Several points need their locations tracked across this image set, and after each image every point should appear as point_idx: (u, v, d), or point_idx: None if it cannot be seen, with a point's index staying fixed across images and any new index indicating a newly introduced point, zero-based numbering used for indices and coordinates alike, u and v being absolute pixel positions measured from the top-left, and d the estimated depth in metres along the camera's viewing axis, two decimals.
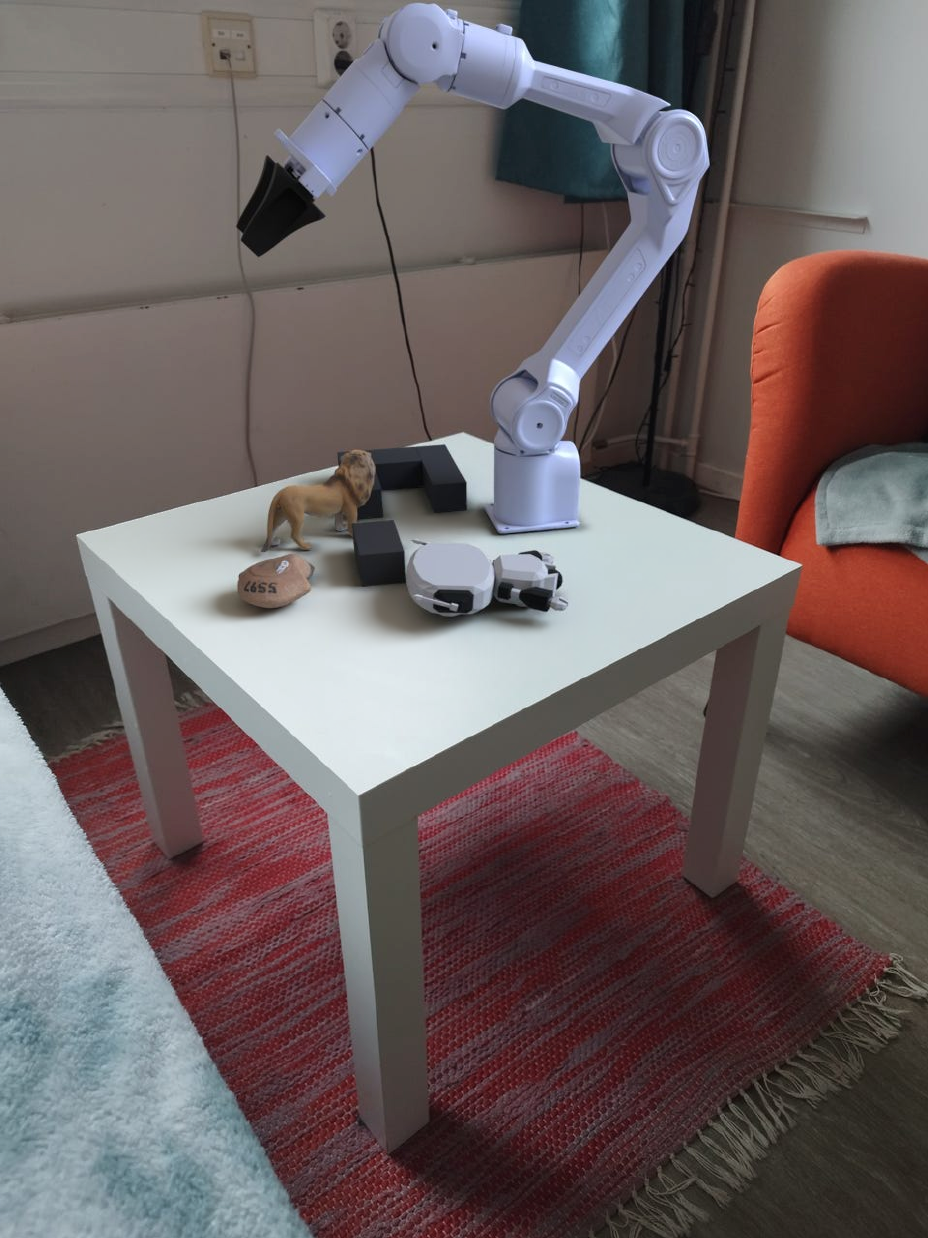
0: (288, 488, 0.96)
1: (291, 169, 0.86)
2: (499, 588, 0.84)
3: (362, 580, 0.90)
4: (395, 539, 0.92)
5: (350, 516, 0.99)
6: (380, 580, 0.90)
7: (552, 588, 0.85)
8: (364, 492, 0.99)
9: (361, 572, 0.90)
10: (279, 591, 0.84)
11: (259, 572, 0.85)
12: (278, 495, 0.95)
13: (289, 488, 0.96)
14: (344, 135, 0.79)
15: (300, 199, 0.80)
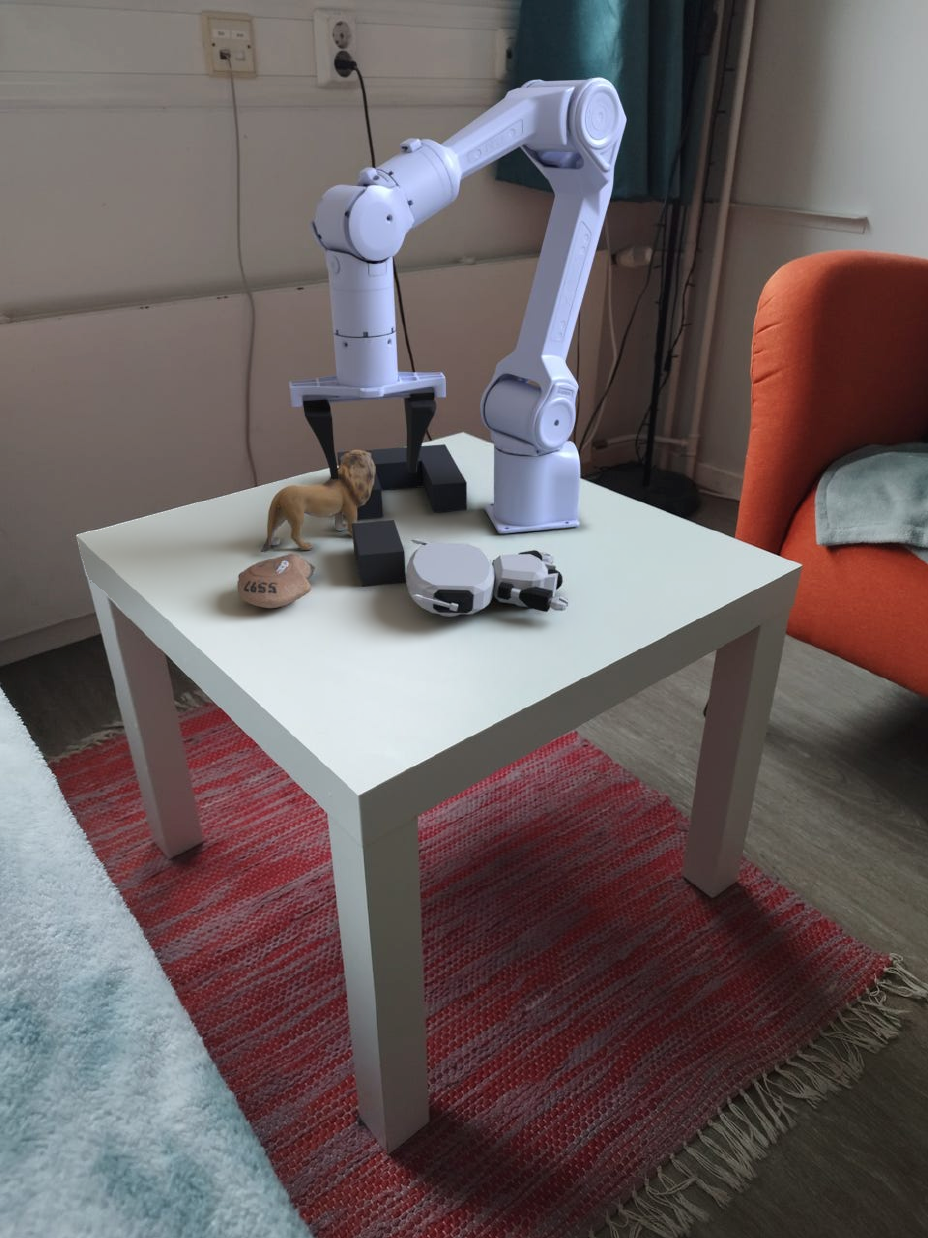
0: (288, 488, 0.96)
1: (327, 401, 0.84)
2: (499, 588, 0.84)
3: (362, 580, 0.90)
4: (395, 539, 0.92)
5: (350, 516, 0.99)
6: (380, 580, 0.90)
7: (552, 588, 0.85)
8: (364, 492, 0.99)
9: (361, 572, 0.90)
10: (279, 591, 0.84)
11: (259, 572, 0.85)
12: (278, 495, 0.95)
13: (289, 488, 0.96)
14: None
15: None
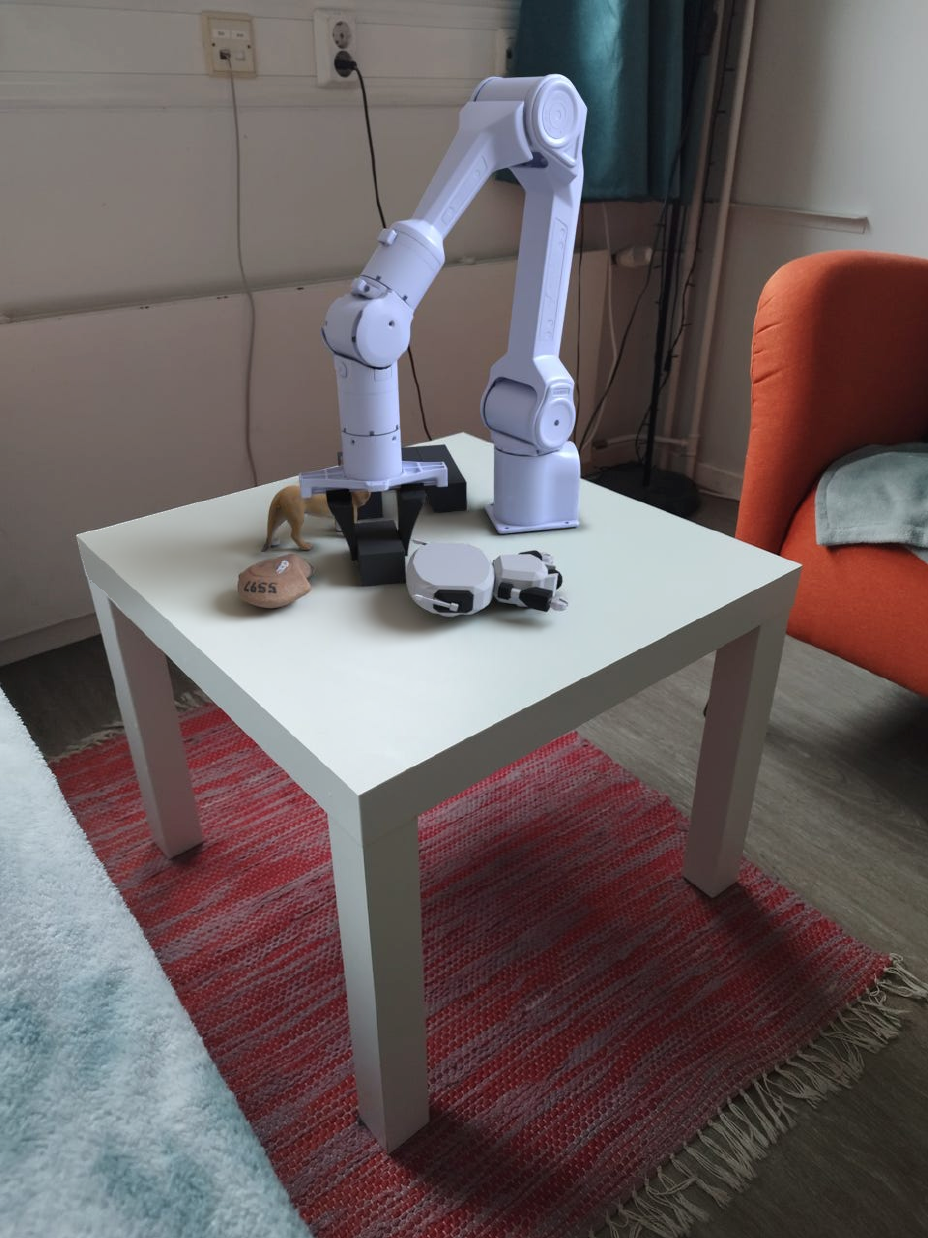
0: (288, 488, 0.96)
1: (349, 490, 0.89)
2: (499, 588, 0.84)
3: (362, 580, 0.90)
4: (396, 539, 0.92)
5: None
6: (380, 580, 0.90)
7: (552, 588, 0.85)
8: (364, 492, 0.99)
9: (361, 572, 0.90)
10: (279, 591, 0.84)
11: (259, 572, 0.85)
12: (278, 495, 0.95)
13: (289, 488, 0.96)
14: None
15: None
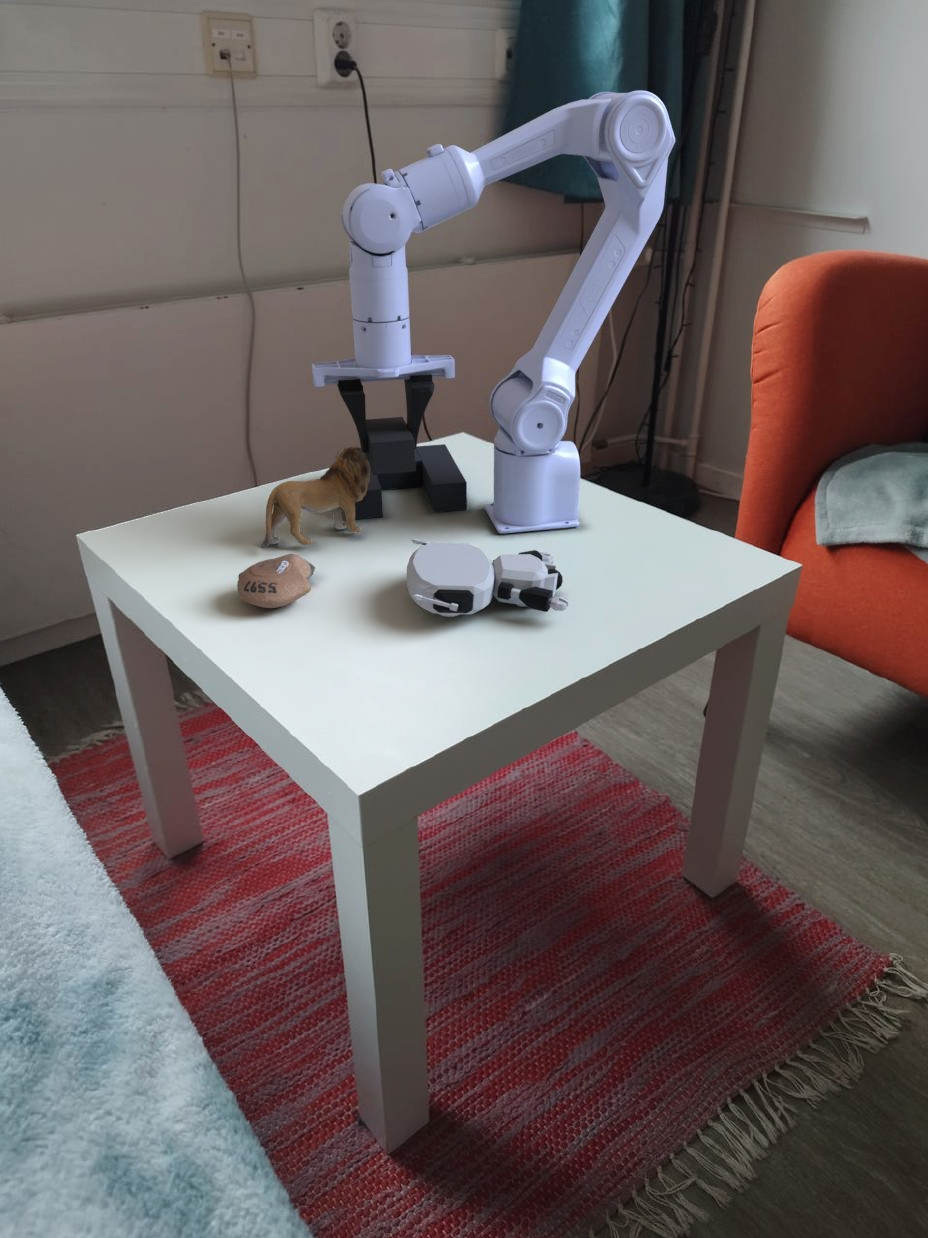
0: (284, 483, 0.96)
1: None
2: (499, 588, 0.84)
3: (373, 468, 0.94)
4: (405, 430, 0.95)
5: (348, 510, 0.99)
6: (391, 469, 0.94)
7: (552, 588, 0.85)
8: (360, 485, 0.99)
9: (372, 460, 0.93)
10: (279, 591, 0.84)
11: (259, 572, 0.85)
12: (275, 490, 0.96)
13: (285, 483, 0.96)
14: None
15: None
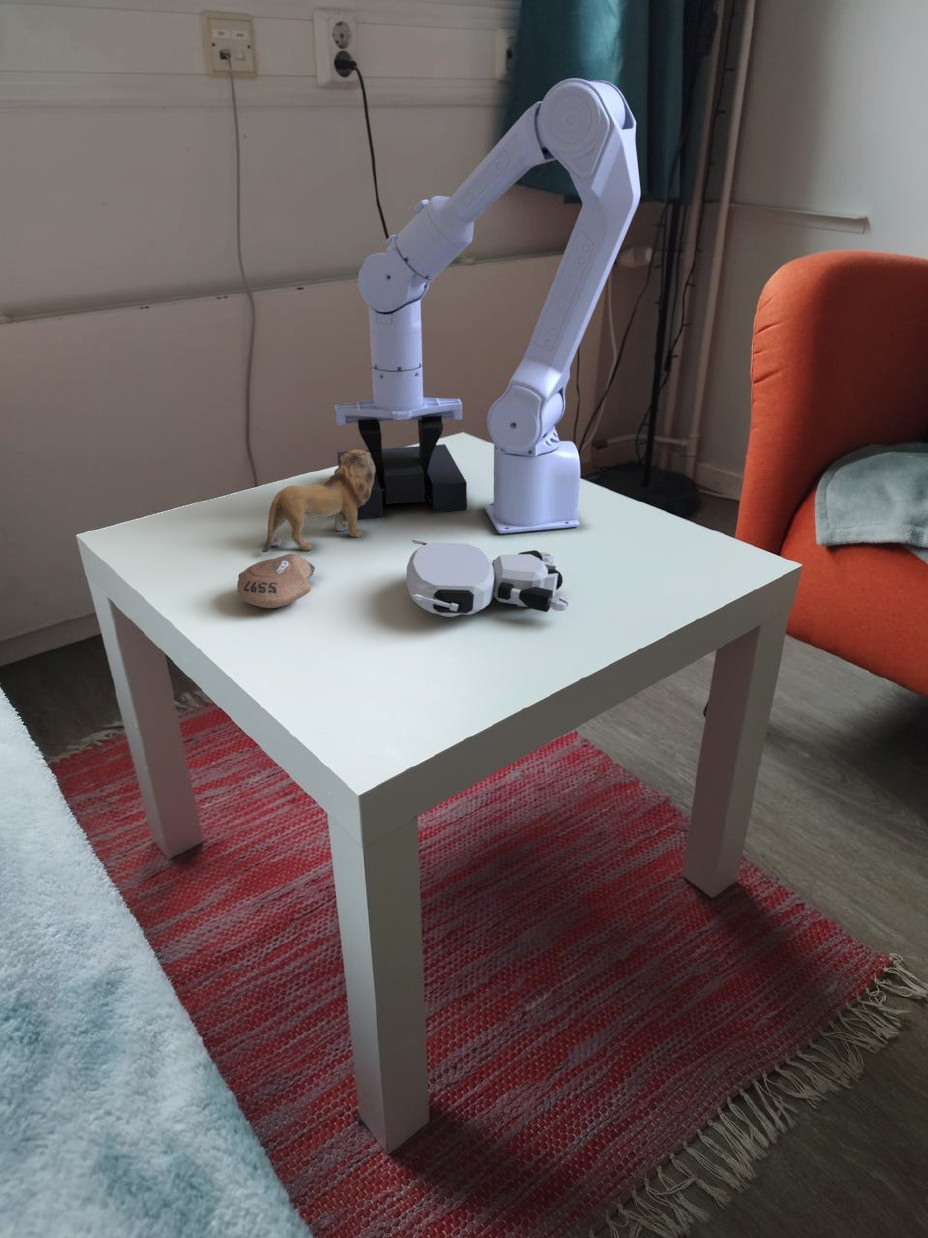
0: (288, 488, 0.96)
1: (377, 420, 1.04)
2: (499, 588, 0.84)
3: (387, 498, 1.05)
4: (417, 464, 1.07)
5: (350, 516, 0.99)
6: (402, 499, 1.05)
7: (552, 588, 0.85)
8: (364, 492, 0.99)
9: (386, 491, 1.05)
10: (279, 591, 0.84)
11: (259, 572, 0.85)
12: (279, 496, 0.95)
13: (289, 488, 0.96)
14: (422, 370, 1.02)
15: None
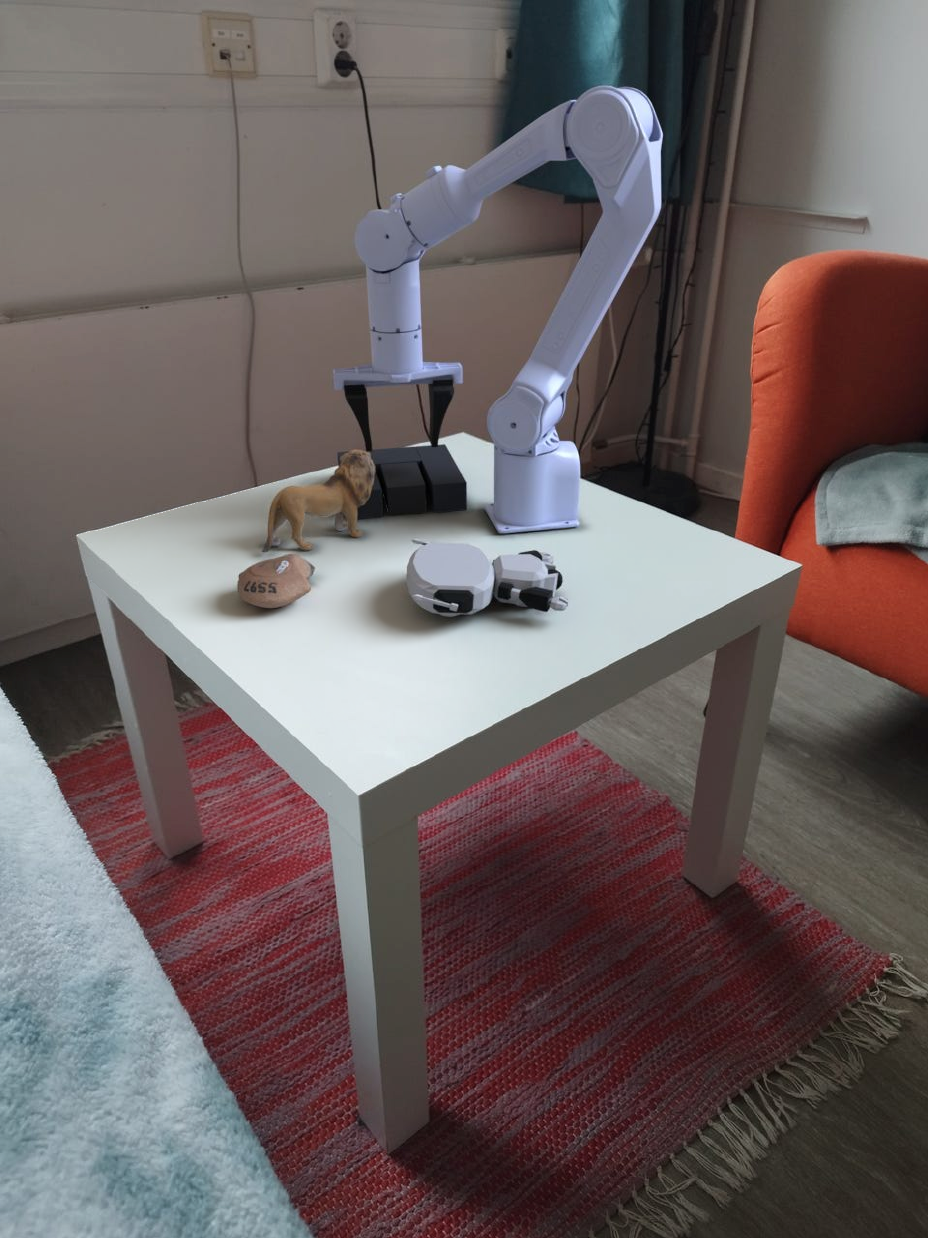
0: (288, 488, 0.96)
1: (364, 385, 1.02)
2: (499, 588, 0.84)
3: (389, 510, 1.06)
4: (418, 476, 1.07)
5: (350, 516, 0.99)
6: (404, 510, 1.06)
7: (552, 588, 0.85)
8: (364, 492, 0.99)
9: (388, 503, 1.05)
10: (279, 591, 0.84)
11: (259, 572, 0.85)
12: (279, 496, 0.95)
13: (289, 488, 0.96)
14: (421, 333, 1.00)
15: None
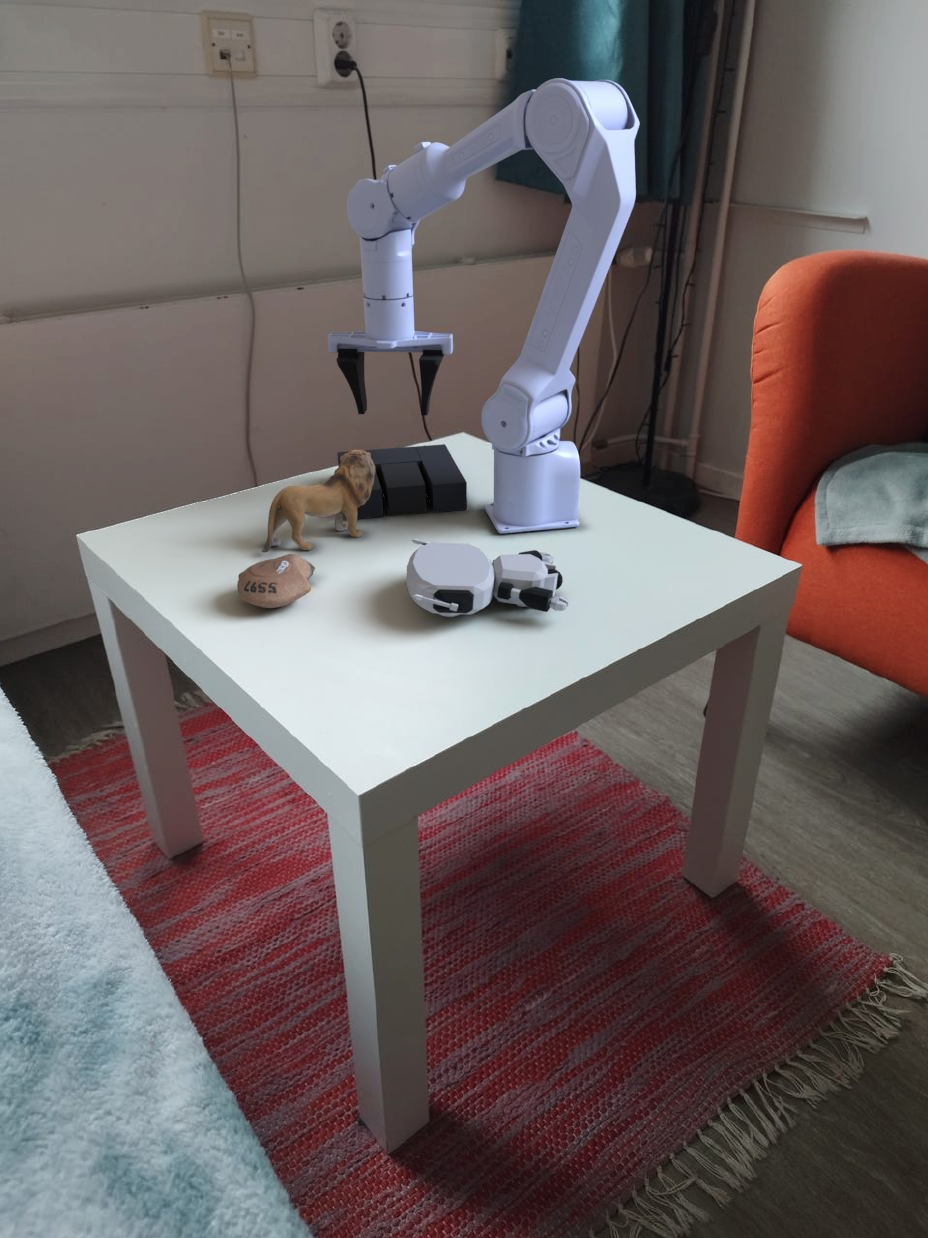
0: (288, 488, 0.96)
1: (357, 350, 1.06)
2: (499, 588, 0.84)
3: (389, 510, 1.06)
4: (418, 476, 1.07)
5: (350, 516, 0.99)
6: (404, 510, 1.06)
7: (552, 588, 0.85)
8: (364, 492, 0.99)
9: (388, 503, 1.05)
10: (279, 591, 0.84)
11: (259, 572, 0.85)
12: (279, 496, 0.95)
13: (289, 488, 0.96)
14: None
15: None
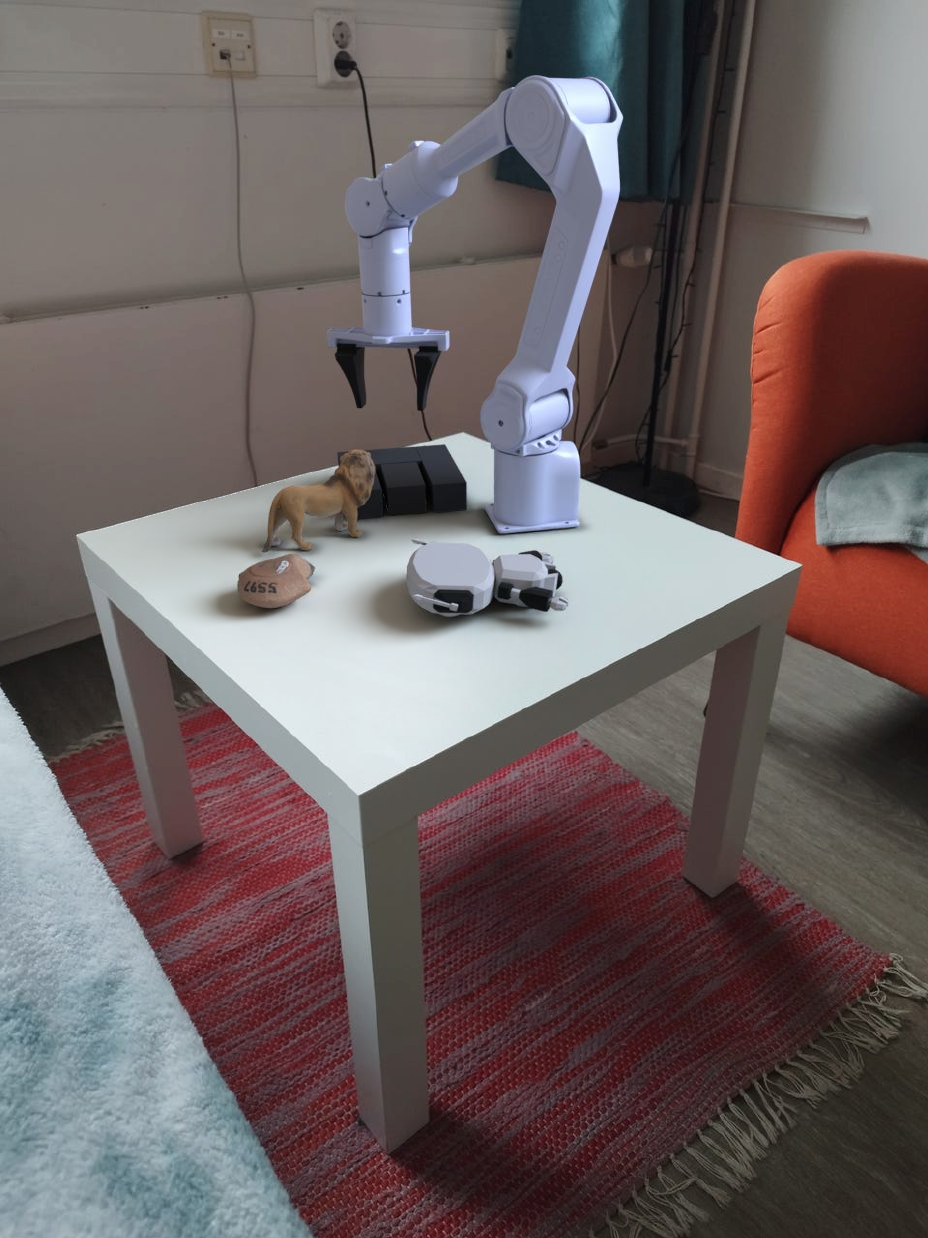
0: (288, 488, 0.96)
1: (355, 345, 1.08)
2: (499, 588, 0.84)
3: (389, 510, 1.06)
4: (418, 476, 1.07)
5: (350, 516, 0.99)
6: (404, 510, 1.06)
7: (552, 588, 0.85)
8: (364, 492, 0.99)
9: (388, 503, 1.05)
10: (279, 591, 0.84)
11: (259, 572, 0.85)
12: (279, 496, 0.95)
13: (289, 488, 0.96)
14: (409, 299, 1.05)
15: None
